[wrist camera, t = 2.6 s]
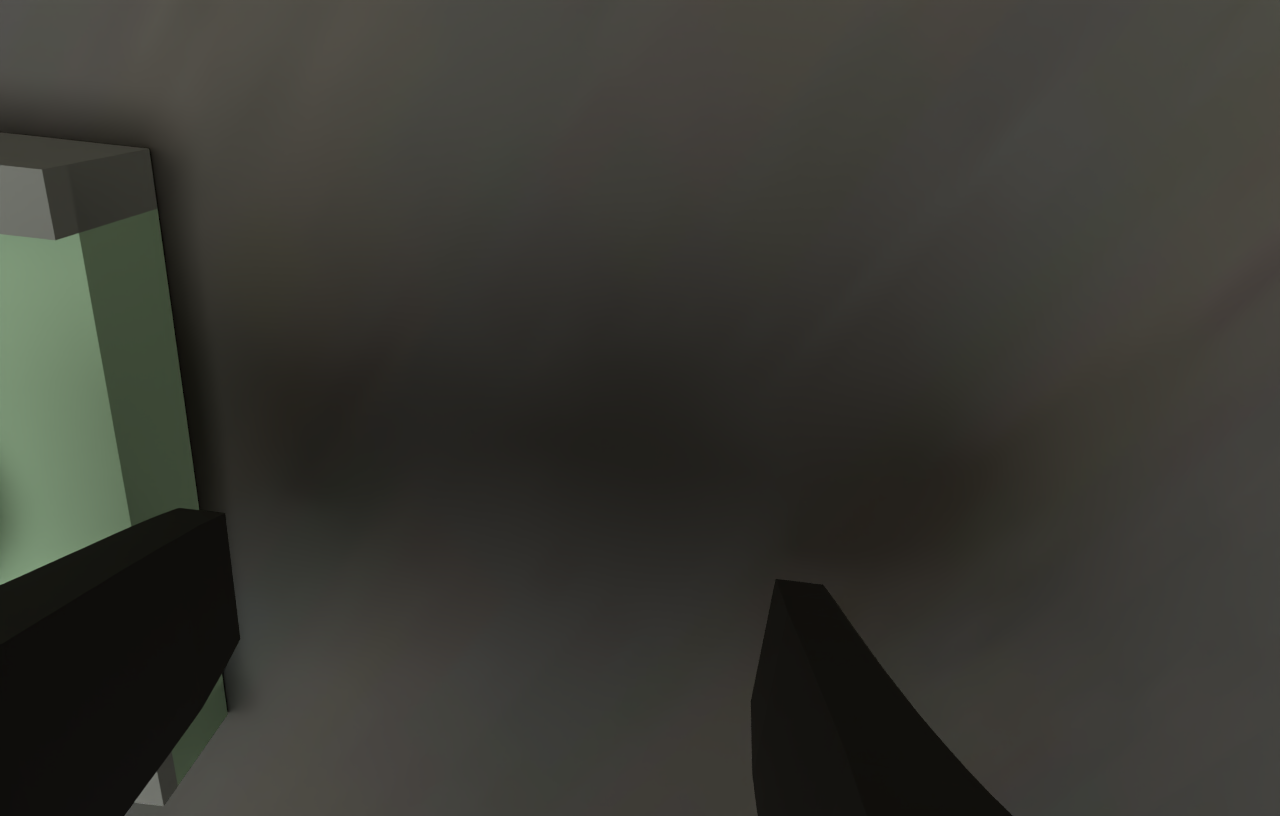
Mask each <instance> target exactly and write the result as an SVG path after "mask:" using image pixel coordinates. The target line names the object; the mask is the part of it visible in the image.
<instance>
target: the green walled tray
mask: <svg viewBox="0 0 1280 816" xmlns="http://www.w3.org/2000/svg"><path fill="white" fill-rule="evenodd" d="M177 508H186V509H194V510H199V504H198V497H197V490H196V483H195V475H194V468H193V461H192V454H191V447H190V439H189V432H188V425H187V418H186V411H185V403H184V396H183V389H182V382H181V375H180V367H179V360H178V353H177V346H176V338H175V331H174V324H173V317H172V310H171V302H170V295H169V288H168V281H167V274H166V266H165V259H164V252H163V245H162V238H161V230H160V223H159V216H158V209H157V202H156V194H155V187H154V180H153V173H152V165H151V158H150V151H149V149H148V148H139V147H130V146H120V145H111V144H102V143H93V142H84V141H75V140H66V139H57V138H48V137H39V136H30V135H20V134H11V133H2V132H0V585H2V584H4V583H6V582H8V581H11V580H13V579H15V578H17V577H20V576H22V575H24V574H26V573H29V572H31V571H33V570H35V569H37V568H40V567H42V566H44V565H46V564H49V563H51V562H53V561H55V560H57V559H60V558H62V557H64V556H66V555H69V554H71V553H73V552H75V551H78V550H80V549H82V548H84V547H86V546H89V545H91V544H93V543H95V542H97V541H100V540H102V539H104V538H106V537H109V536H111V535H113V534H115V533H118V532H120V531H122V530H124V529H127V528H129V527H131V526H134V525H136V524H138V523H141V522H143V521H145V520H148V519H150V518H153V517H155V516H158V515H160V514H163V513H166V512H169V511H171V510H174V509H177ZM227 715H228V713H227V706H226V699H225V692H224V685H223V677H222V674H221V676H220V678H219V680H218V682H217V683H216V685H215V687H214V689H213V690H212V692H211V694H210V696H209V697H208V699H207V701H206V703H205V704H204V706H203V708H202V709H201V711H200V712H199V714H198V715H197V716H196V718H195V719H194V721H193V722H192V724H191V725H190V726H189V728H188V729H187V731H186V732H185V733H184V735H183V736H182V737H181V739H180V740H179V742H178V743H177V744H176V746H175V747H174V749H173V750H172V751H171V753H170V754H169V755H168V757H167V758H166V760H165V761H164V762H163V764H162V765H161V766H160V768H159V769H158V771H157V772H156V773H155V775H154V776H153V777H152V779H151V780H150V781H149V783H148V784H147V785H146V787H145V788H144V789H143V791H142V792H141V794H140V795H139V796H138V798H137V799H136V800H135V802H134V803H142V804H150V805H158V806H164V805H165V804H166V802H167V801H168V799H169V798H170V796H171V795H172V794H173V792H174V791H175V789H176V788H177V786H178V785H179V784H180V782H181V781H182V779H183V778H184V776H185V775H186V773H187V772H188V771H189V769H190V768H191V766H192V765H193V763H194V762H195V761H196V759H197V758H198V756H199V755H200V753H201V752H202V751H203V749H204V748H205V746H206V745H207V743H208V742H209V740H210V739H211V738H212V736H213V735H214V733H215V732H216V730H217V729H218V728H219V726H220V725H221V723H222V722H223V720H224V719H225V717H226V716H227Z"/></svg>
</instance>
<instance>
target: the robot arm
mask: <svg viewBox="0 0 1280 816" xmlns="http://www.w3.org/2000/svg"><path fill="white" fill-rule="evenodd" d="M239 640H240V633H239V625H238V617H237V609H236V600H235V592H234V584H233V576H232V567H231V559H230V551H229V543H228V534H227V526H226V518H225V513H219V512H211V511H202V510H194V509H186V508H177V509H174V510H171V511H169V512H166V513H163V514H160V515H158V516H155V517H153V518H150V519H148V520H145V521H143V522H141V523H138V524H136V525H134V526H131V527H129V528H127V529H124V530H122V531H120V532H118V533H115V534H113V535H111V536H109V537H106V538H104V539H102V540H100V541H97V542H95V543H93V544H91V545H89V546H86V547H84V548H82V549H80V550H78V551H75V552H73V553H71V554H69V555H66V556H64V557H62V558H60V559H57V560H55V561H53V562H51V563H49V564H46V565H44V566H42V567H40V568H37V569H35V570H33V571H31V572H29V573H26V574H24V575H22V576H20V577H17V578H15V579H13V580H11V581H8V582H6V583H4V584H2V585H0V816H124V815H125V814H126V813H127V811H128V810H129V808H130V807H131V806H132V804H133V803H134V802H135V800H136V799H137V798H138V796H139V795H140V794H141V792H142V791H143V789H144V788H145V787H146V785H147V784H148V783H149V781H150V780H151V779H152V777H153V776H154V775H155V773H156V772H157V771H158V769H159V768H160V766H161V765H162V764H163V762H164V761H165V760H166V758H167V757H168V755H169V754H170V753H171V751H172V750H173V749H174V747H175V746H176V744H177V743H178V742H179V740H180V739H181V737H182V736H183V735H184V733H185V732H186V731H187V729H188V728H189V726H190V725H191V724H192V722H193V721H194V719H195V718H196V716H197V715H198V714H199V712H200V711H201V709H202V708H203V706H204V704H205V703H206V701H207V699H208V697H209V696H210V694H211V692H212V690H213V689H214V687H215V685H216V683H217V682H218V680H219V678H220V676H221V674H222V673H223V671H224V669H225V667H226V665H227V663H228V661H229V659H230V657H231V655H232V653H233V652H234V650H235V648H236V646H237V644H238V642H239ZM751 732H752V772H753V783H754V791H755V798H756V806H757V813H758V816H1012V815H1011V814H1010V813H1009V812H1008V811H1007V810H1006V809H1005V808H1004V807H1003V806H1002V805H1001V804H1000V803H999V802H998V801H997V800H996V799H995V798H994V797H993V796H992V795H991V794H990V793H989V792H988V791H987V790H986V789H985V788H984V787H983V786H982V785H981V784H980V783H979V782H978V781H977V779H976V778H975V777H974V776H973V775H972V774H971V773H970V772H969V771H968V770H967V769H966V768H965V767H964V766H963V764H962V763H961V762H960V761H959V760H958V759H957V758H956V757H955V755H954V754H953V753H952V752H951V751H950V750H949V749H948V747H947V746H946V745H945V744H944V743H943V742H942V741H941V739H940V738H939V737H938V736H937V735H936V734H935V733H934V732H933V730H932V729H931V728H930V727H929V726H928V725H927V723H926V722H925V721H924V720H923V718H922V717H921V716H920V715H919V714H918V712H917V711H916V710H915V709H914V707H913V706H912V705H911V703H910V702H909V701H908V700H907V698H906V697H905V696H904V695H903V693H902V692H901V691H900V689H899V688H898V687H897V686H896V684H895V683H894V682H893V680H892V679H891V678H890V677H889V675H888V674H887V673H886V671H885V670H884V669H883V667H882V666H881V665H880V663H879V662H878V661H877V659H876V658H875V657H874V655H873V654H872V652H871V651H870V650H869V648H868V647H867V646H866V644H865V643H864V641H863V640H862V639H861V637H860V636H859V634H858V633H857V632H856V630H855V629H854V627H853V626H852V625H851V623H850V622H849V620H848V619H847V617H846V616H845V615H844V613H843V612H842V610H841V609H840V607H839V606H838V605H837V603H836V602H835V600H834V599H833V598H832V596H831V595H830V593H829V592H828V591H827V589H826V588H825V587H824V586H823V585H821V584H812V583H804V582H796V581H787V580H779V579H776V580H775V585H774V590H773V595H772V600H771V605H770V610H769V615H768V620H767V625H766V630H765V635H764V639H763V644H762V649H761V654H760V659H759V664H758V669H757V674H756V679H755V684H754V689H753V694H752V699H751Z"/></svg>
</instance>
